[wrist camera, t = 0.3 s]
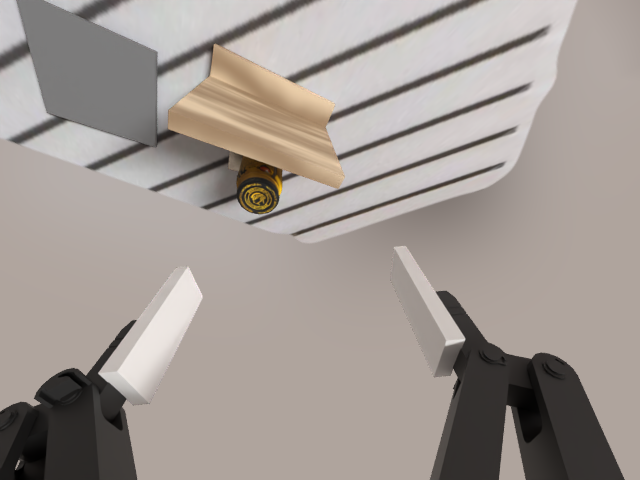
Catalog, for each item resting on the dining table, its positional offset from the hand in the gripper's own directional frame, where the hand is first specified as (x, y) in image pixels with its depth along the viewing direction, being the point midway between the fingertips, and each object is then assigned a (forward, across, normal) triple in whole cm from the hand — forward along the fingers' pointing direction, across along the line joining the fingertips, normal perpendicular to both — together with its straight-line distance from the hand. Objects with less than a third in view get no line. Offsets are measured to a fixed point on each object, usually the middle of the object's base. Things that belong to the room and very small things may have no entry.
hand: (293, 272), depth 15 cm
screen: (+26, -2, +10) cm, 28 cm away
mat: (+24, -23, +13) cm, 36 cm away
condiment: (+28, -7, +2) cm, 29 cm away
